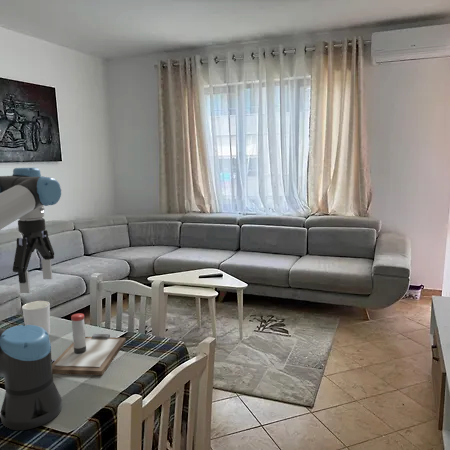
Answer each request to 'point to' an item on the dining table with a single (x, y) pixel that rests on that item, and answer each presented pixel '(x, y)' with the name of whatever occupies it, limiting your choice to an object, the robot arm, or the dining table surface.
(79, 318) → the marker
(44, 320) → the candle holder
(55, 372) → the clipboard
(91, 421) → the dining table surface
